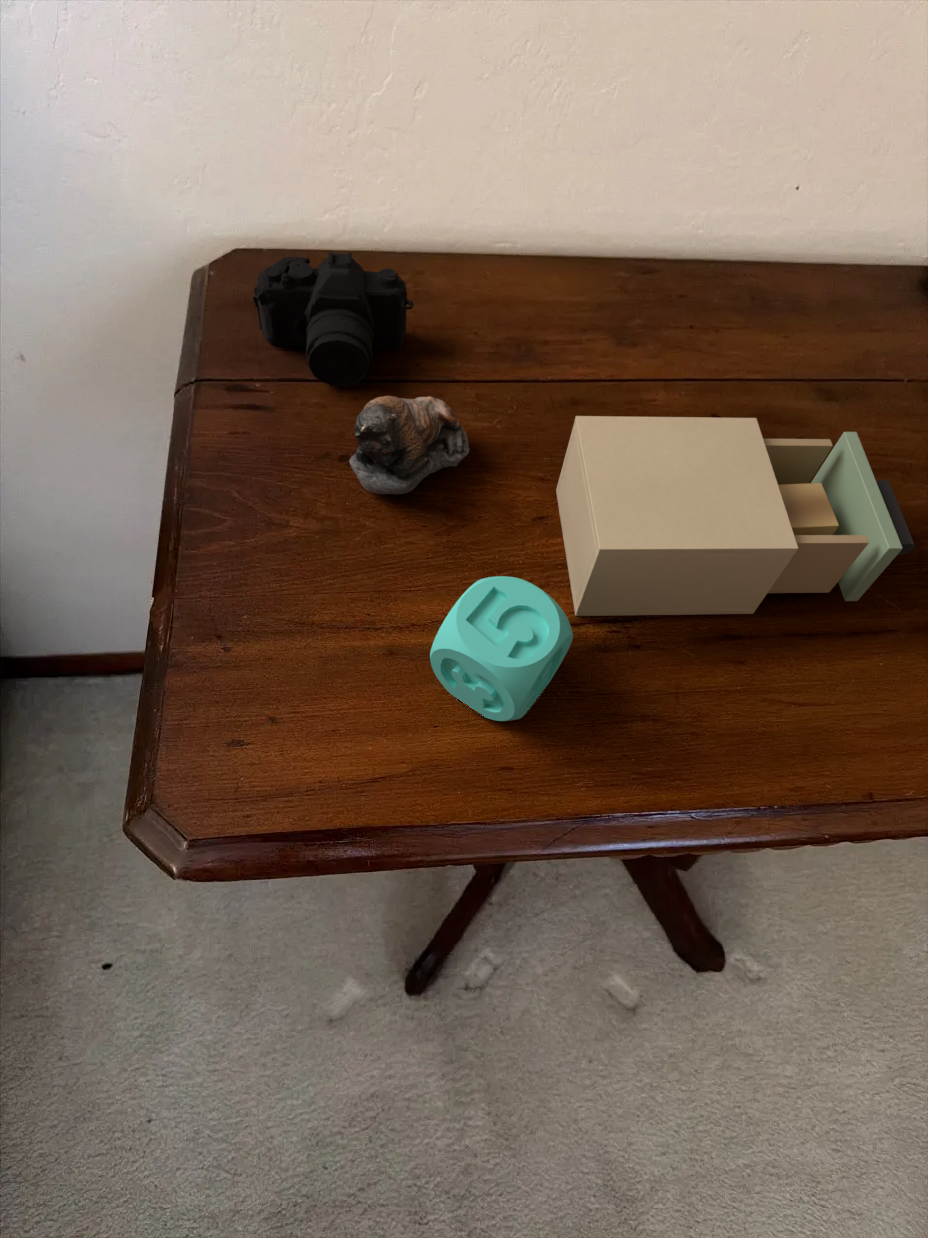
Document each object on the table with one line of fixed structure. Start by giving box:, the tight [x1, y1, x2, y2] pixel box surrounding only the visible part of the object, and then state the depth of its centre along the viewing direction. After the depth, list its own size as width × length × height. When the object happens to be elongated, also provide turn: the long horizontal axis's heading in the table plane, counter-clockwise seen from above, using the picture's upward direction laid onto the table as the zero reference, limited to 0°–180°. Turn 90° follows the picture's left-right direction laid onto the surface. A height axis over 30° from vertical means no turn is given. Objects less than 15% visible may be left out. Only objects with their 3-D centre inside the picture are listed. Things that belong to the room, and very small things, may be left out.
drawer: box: [763, 431, 916, 602], centre depth 75 cm, size 18×12×8 cm
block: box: [778, 482, 839, 535], centre depth 76 cm, size 5×5×5 cm
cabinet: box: [555, 415, 798, 617], centre depth 74 cm, size 16×14×10 cm
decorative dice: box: [429, 575, 574, 722], centre depth 67 cm, size 8×8×8 cm
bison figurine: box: [348, 395, 470, 495], centre depth 76 cm, size 12×7×10 cm, turn 136°
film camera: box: [252, 251, 415, 388], centre depth 84 cm, size 15×10×9 cm, turn 92°
